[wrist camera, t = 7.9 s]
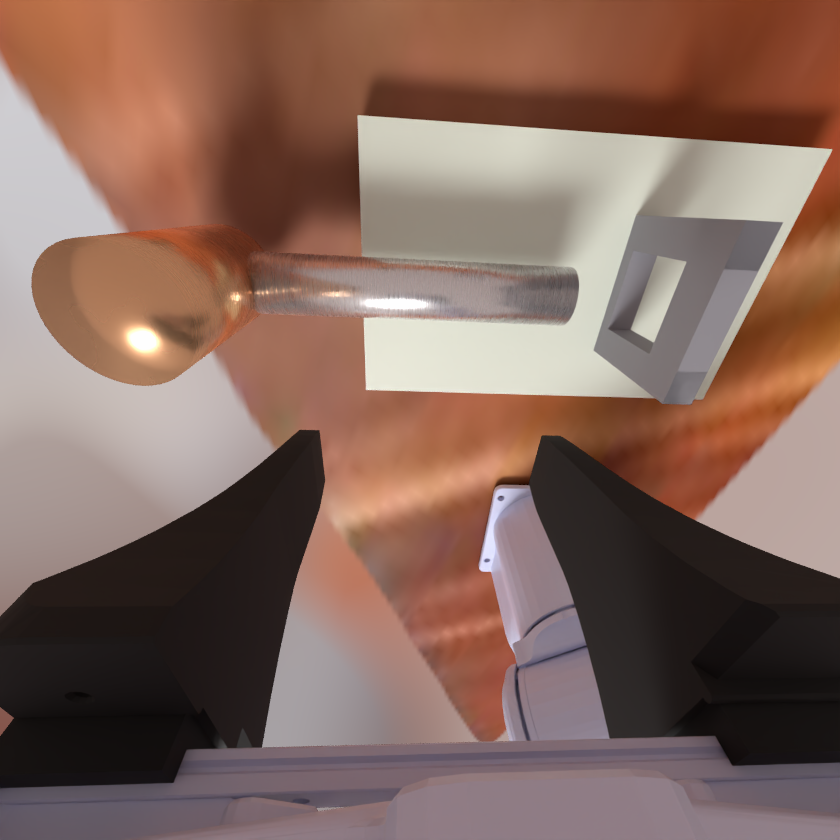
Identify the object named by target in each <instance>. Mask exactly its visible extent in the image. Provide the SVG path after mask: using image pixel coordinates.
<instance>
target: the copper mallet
mask: <svg viewBox="0 0 840 840" xmlns="http://www.w3.org/2000/svg"><path fill="white" fill-rule="evenodd" d="M32 293H33V298H34V302H35V305H36V308H37V310H38V313H39V315H40V317H41V319H42V321H43V322H44V324H45V326H46V327H47V329H48V330H49V332H50V333H51V334H52V336H53V337H54V338H55V339H56V340H57V342H58V343H59V344H60V345H61V346H62V347H63V348H64V349H65V350H66V351H67V352H68V353H69V354H71V355H72V356H73V357H74V358H75V359H76V360H78V361H79V362H81V363H82V364H84V365H85V366H86V367H88V368H90V369H92V370H93V371H95V372H97V373H99V374H101V375H103V376H105V377H108V378H110V379H113V380H116V381H119V382H122V383H127V384H133V385H142V386H149V385H157V384H162V383H165V382H168V381H171V380H173V379H175V378H176V377H178V376H179V375H181V374H182V373H183V372H185V371H186V370H187V369H189V368H190V367H191V366H193V365H194V364H195V363H196V362H198V361H199V360H201V359H202V358H203V357H205V356H206V355H207V354H209V353H210V352H211V351H212V350H214V349H215V348H216V347H218V346H219V345H220V344H222V343H223V342H224V341H226V340H227V339H228V338H230V337H231V336H232V335H234V334H235V333H236V332H238V331H239V330H240V329H242V328H243V327H244V326H246V325H247V324H248V323H250V322H251V321H252V320H254V319H255V318H256V317H258V316H259V315H260V314H284V315H309V316H333V317H358V318H383V319H407V320H432V321H457V322H481V323H506V324H531V325H555V326H563V325H565V324H566V323H567V322H568V321H569V320H570V318H571V317H572V315H573V312H574V310H575V307H576V304H577V300H578V294H579V278H578V274H577V271H576V270H575V269H574V268H573V267H560V266H540V265H520V264H500V263H480V262H460V261H440V260H420V259H400V258H380V257H360V256H340V255H320V254H300V253H280V252H264V251H263V249H262V248H261V247H260V246H259V245H258V244H257V242H256V241H254V240H253V239H252V238H251V237H250V236H248V235H247V234H245V233H244V232H242V231H240V230H238V229H236V228H234V227H231V226H227V225H221V224H210V225H199V226H189V227H179V228H169V229H159V230H149V231H139V232H129V233H118V234H108V235H98V236H88V237H78V238H71V239H65V240H62V241H59V242H57V243H55V244H54V245H51V246H50V247H48V248H47V249H46V250H45V251H44V252H43V253H42V254H41V255H40V257H39V258H38V259H37V261H36V264H35V266H34V268H33V273H32Z"/></svg>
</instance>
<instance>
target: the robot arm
mask: <svg viewBox="0 0 840 840" xmlns="http://www.w3.org/2000/svg"><path fill="white" fill-rule="evenodd" d="M324 483H325V475H324V467H323V458H322V449H321V440H320V432H319V430H299V431H298V432H297V433H296V434H294V435H293V436H292V437H291V438H290V439H289V440H288V441H286V442H285V443H284V444H283V445H282V446H281V447H280V448H278V449H277V450H276V451H275V452H274V453H273V454H271V455H270V456H269V457H268V458H267V459H265V460H264V461H263V462H262V463H261V464H260V465H258V466H257V467H256V468H254V469H253V470H252V471H250V472H249V473H248V474H246V475H245V476H244V477H243V478H241V479H240V480H239V481H237V482H236V483H235V484H233V485H232V486H230V487H229V488H228V489H226V490H225V491H224V492H222V493H220V494H219V495H217V496H216V497H214V498H213V499H211V500H209V501H208V502H206V503H205V504H203V505H201V506H200V507H198V508H196V509H195V510H194V511H191V512H190V513H188V514H186V515H184V516H182V517H180V518H178V519H177V520H175V521H173V522H171V523H169V524H167V525H166V526H164V527H162V528H160V529H158V530H156V531H154V532H152V533H150V534H148V535H146V536H144V537H142V538H140V539H138V540H136V541H134V542H132V543H129V544H127V545H125V546H123V547H121V548H118V549H117V550H114V551H112V552H110V553H107V554H105V555H103V556H100V557H98V558H96V559H93V560H91V561H88V562H86V563H83V564H81V565H78V566H76V567H73V568H71V569H68V570H66V571H63V572H61V573H58V574H56V575H53V576H51V577H48V578H46V579H43V580H40V581H38V582H35V583H33V584H32V585H31V586H30V587H29V588H28V589H27V590H26V591H25V592H24V593H23V594H22V595H21V596H20V597H19V598H18V599H17V600H16V601H15V602H14V603H13V604H12V605H11V606H10V607H9V608H8V609H7V610H6V611H5V612H4V613H3V614H2V615H1V616H0V707H1V708H2V709H3V710H5V711H6V712H7V713H9V714H10V715H11V716H12V717H14V719H13V720H12V722H11V723H10V724H9V725H8V727H7V728H6V730H5V731H4V732H3V734H2V735H1V736H0V840H840V578H837V577H834V576H831V575H828V574H825V573H823V572H820V571H817V570H814V569H811V568H808V567H805V566H802V565H800V564H797V563H794V562H791V561H788V560H786V559H783V558H780V557H778V556H775V555H773V554H770V553H768V552H765V551H763V550H760V549H758V548H755V547H753V546H750V545H748V544H746V543H743V542H741V541H739V540H736V539H734V538H732V537H729V536H727V535H725V534H723V533H721V532H719V531H716V530H714V529H712V528H710V527H708V526H706V525H703V524H701V523H699V522H697V521H695V520H693V519H691V518H689V517H687V516H685V515H683V514H682V513H680V512H678V511H676V510H674V509H672V508H671V507H669V506H667V505H665V504H663V503H661V502H660V501H658V500H656V499H654V498H653V497H651V496H649V495H648V494H646V493H644V492H643V491H641V490H640V489H638V488H636V487H635V486H633V485H632V484H630V483H628V482H627V481H625V480H624V479H622V478H621V477H619V476H618V475H616V474H615V473H613V472H612V471H611V470H609V469H608V468H606V467H605V466H603V465H602V464H600V463H599V462H598V461H596V460H595V459H593V458H592V457H591V456H589V455H588V454H586V453H585V452H584V451H582V450H581V449H579V448H578V447H576V446H575V445H574V444H572V443H571V442H569V441H568V440H566V439H564V438H563V437H561V436H542V437H541V440H540V444H539V448H538V452H537V455H536V459H535V463H534V466H533V470H532V474H531V477H530V481H529V485H499V486H497V487H496V488H495V490H494V494H493V499H492V503H491V508H490V513H489V518H488V523H487V527H486V532H485V537H484V542H483V546H482V551H481V556H480V561H479V569H480V570H481V571H484V572H491V573H492V577H493V582H494V586H495V590H496V594H497V599H498V603H499V607H500V612H501V616H502V620H503V624H504V629H505V633H506V637H507V640H508V642H509V645H510V647H511V648H512V650H513V652H514V653H515V657H516V662H517V664H513V665H511V666H509V667H508V669H507V671H506V675H505V681H504V684H503V690H502V703H503V712H504V718H505V724H506V728H507V733H508V737H509V741H498V742H461V743H460V742H459V743H422V744H421V743H420V744H384V745H383V744H381V745H342V746H305V747H304V746H303V747H264V748H262V744H263V738H264V732H265V727H266V721H267V715H268V710H269V704H270V699H271V693H272V687H273V683H274V678H275V673H276V667H277V662H278V657H279V652H280V647H281V643H282V638H283V633H284V629H285V624H286V619H287V615H288V610H289V606H290V602H291V597H292V593H293V589H294V585H295V581H296V578H297V574H298V571H299V568H300V565H301V562H302V559H303V556H304V553H305V550H306V547H307V544H308V541H309V538H310V535H311V533H312V530H313V526H314V523H315V520H316V518H317V515H318V511H319V508H320V504H321V499H322V494H323V489H324ZM499 496H502V497H499ZM322 807H323V808H324V807H344V808H338V809H331V810H324V811H318V810H317V808H322Z"/></svg>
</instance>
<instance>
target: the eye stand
mask: <svg viewBox="0 0 840 840" xmlns="http://www.w3.org/2000/svg"><path fill="white" fill-rule="evenodd" d="M358 147H359V179H360V211H361V242H362V257H380V258H400V259H420V260H440V261H460V262H480V263H500V264H520V265H540V266H560V267H573V268H574V269H575V270H576V271H577V274H578V278H579V294H578V300H577V304H576V307H575V310H574V312H573V315H572V317H571V318H570V320H569V321H568V322H567V323H566V324H565V325H563V326H555V325H531V324H506V323H481V322H457V321H432V320H407V319H383V318H364V338H365V370H366V390H391V391H425V392H459V393H493V394H527V395H561V396H595V397H629V398H656V399H657V400H658V401H659V402H661V403H662V404H687V405H691V404H692V402H693V400H694V399H697V400H703V398H704V396H705V394H706V392H707V390H708V388H709V386H710V384H711V383H712V381H713V379H714V377H715V375H716V373H717V371H718V369H719V367H720V365H721V363H722V361H723V359H724V358H725V356H726V354H727V352H728V350H729V348H730V346H731V344H732V342H733V340H734V338H735V336H736V334H737V332H738V331H739V329H740V327H741V325H742V323H743V321H744V319H745V317H746V315H747V313H748V311H749V309H750V307H751V306H752V304H753V302H754V300H755V298H756V296H757V294H758V292H759V290H760V288H761V286H762V284H763V282H764V281H765V279H766V277H767V275H768V273H769V271H770V269H771V267H772V265H773V263H774V261H775V259H776V257H777V256H778V254H779V252H780V250H781V248H782V246H783V244H784V242H785V240H786V238H787V236H788V234H789V232H790V231H791V229H792V227H793V225H794V223H795V221H796V219H797V217H798V215H799V213H800V211H801V209H802V207H803V205H804V204H805V202H806V200H807V198H808V196H809V194H810V192H811V190H812V188H813V186H814V184H815V182H816V180H817V179H818V177H819V175H820V173H821V171H822V169H823V167H824V165H825V163H826V161H827V159H828V157H829V155H830V154H831V152H832V150H833V149H821V148H808V147H794V146H780V145H766V144H752V143H738V142H724V141H710V140H696V139H682V138H668V137H654V136H641V135H627V134H613V133H599V132H585V131H571V130H557V129H543V128H529V127H515V126H501V125H487V124H473V123H460V122H446V121H432V120H418V119H404V118H390V117H376V116H362V115H358Z"/></svg>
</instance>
